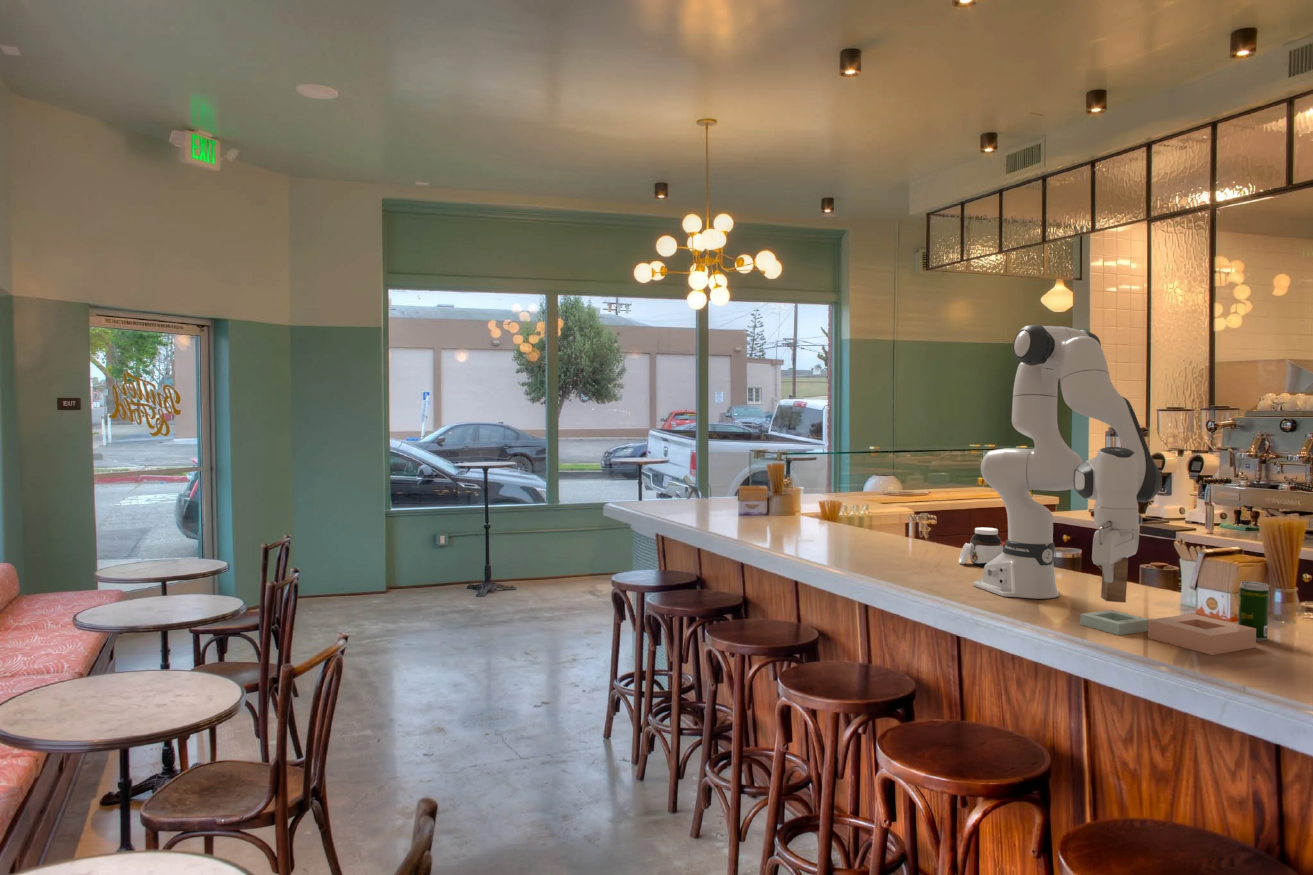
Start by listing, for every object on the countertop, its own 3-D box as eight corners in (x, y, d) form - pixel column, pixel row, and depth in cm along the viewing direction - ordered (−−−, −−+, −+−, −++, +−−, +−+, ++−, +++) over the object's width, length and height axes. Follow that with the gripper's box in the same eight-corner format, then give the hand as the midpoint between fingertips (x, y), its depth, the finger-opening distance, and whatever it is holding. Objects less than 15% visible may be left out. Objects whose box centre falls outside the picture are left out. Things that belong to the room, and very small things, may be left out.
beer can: (1269, 637, 188) (1271, 583, 187) (1265, 642, 184) (1267, 587, 183) (1240, 633, 192) (1241, 579, 191) (1235, 638, 188) (1237, 583, 187)
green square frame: (1080, 624, 199) (1080, 613, 199) (1111, 620, 203) (1111, 609, 203) (1118, 635, 190) (1119, 624, 190) (1150, 630, 194) (1150, 619, 194)
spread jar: (1006, 567, 268) (1007, 530, 268) (974, 569, 265) (975, 532, 265) (983, 561, 280) (983, 525, 279) (952, 562, 277) (952, 526, 276)
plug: (1100, 597, 199) (1103, 554, 198) (1119, 598, 198) (1122, 555, 197) (1106, 601, 195) (1109, 557, 194) (1125, 602, 194) (1128, 558, 194)
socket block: (1148, 637, 188) (1148, 619, 187) (1191, 631, 193) (1191, 613, 193) (1211, 655, 175) (1211, 635, 175) (1255, 647, 180) (1256, 628, 180)
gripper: (1115, 525, 186) (1114, 589, 187) (1144, 515, 200) (1143, 574, 201) (1084, 522, 190) (1083, 584, 191) (1115, 513, 205) (1114, 570, 205)
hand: (1114, 579), depth 196 cm, fingers closed on plug, 6 cm apart
